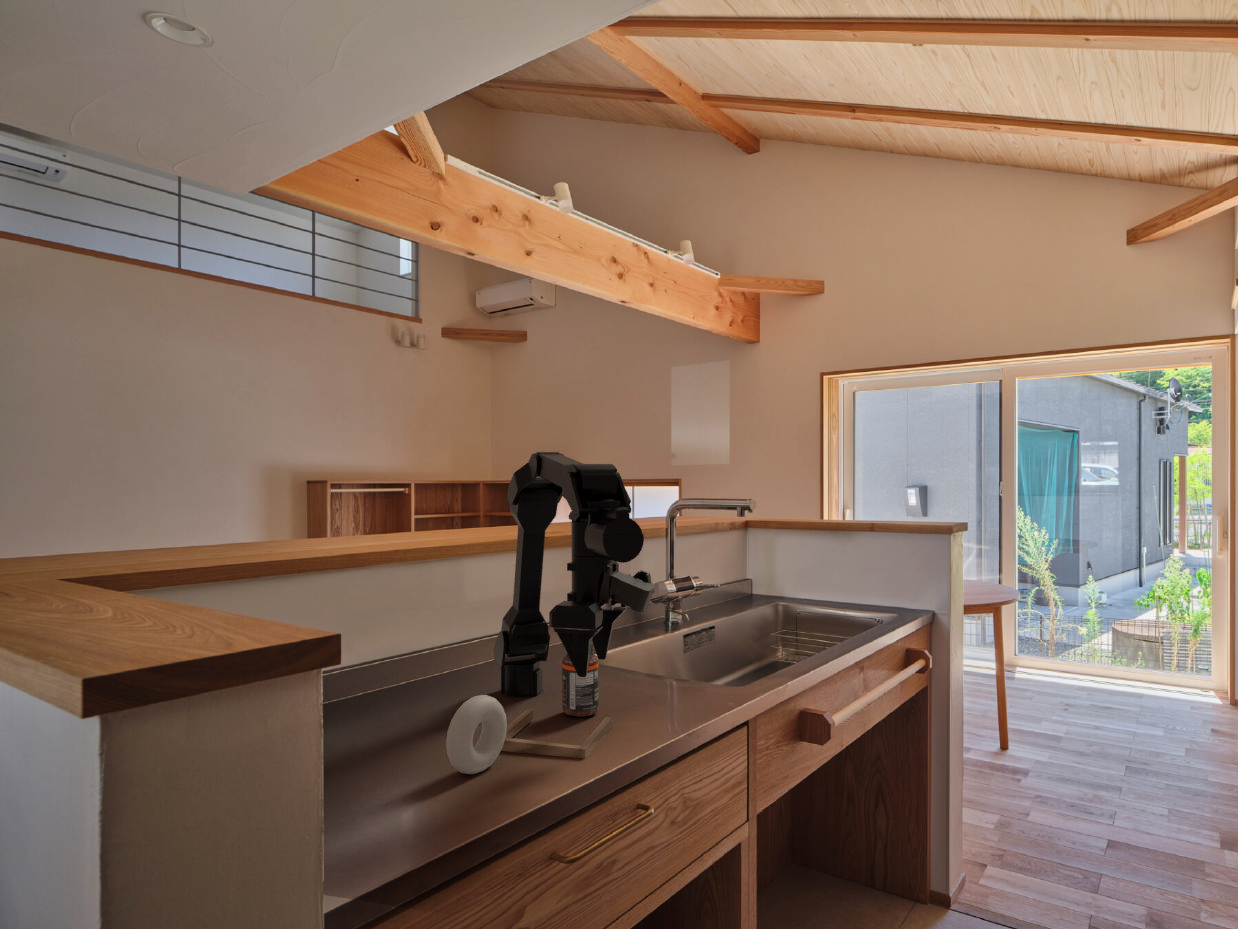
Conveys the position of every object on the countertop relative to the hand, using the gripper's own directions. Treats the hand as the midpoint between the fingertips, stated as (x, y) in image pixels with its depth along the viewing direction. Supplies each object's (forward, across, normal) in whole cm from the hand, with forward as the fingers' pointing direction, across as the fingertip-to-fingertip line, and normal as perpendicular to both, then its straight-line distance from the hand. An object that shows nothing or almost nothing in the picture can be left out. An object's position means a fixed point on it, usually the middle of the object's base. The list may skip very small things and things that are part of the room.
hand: (592, 667), depth 102 cm
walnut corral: (+12, +5, +8) cm, 15 cm away
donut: (+13, -8, +13) cm, 20 cm away
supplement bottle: (+12, +17, +7) cm, 23 cm away
